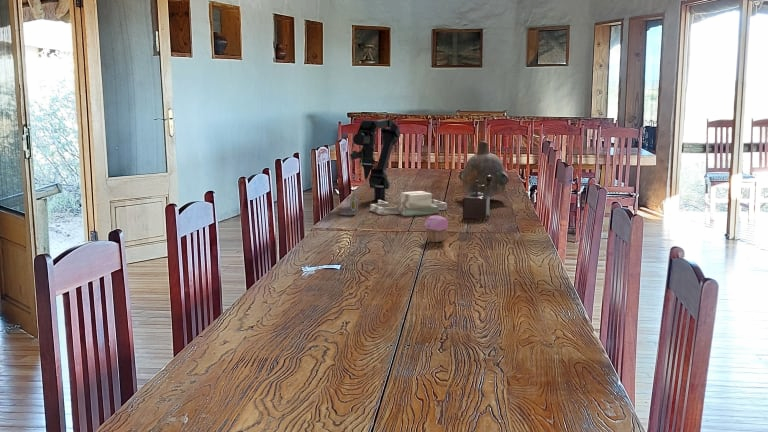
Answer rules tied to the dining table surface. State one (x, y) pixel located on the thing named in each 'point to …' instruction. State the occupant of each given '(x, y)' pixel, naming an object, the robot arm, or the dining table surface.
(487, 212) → the manual coffee grinder
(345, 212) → the pocket watch
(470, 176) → the jug
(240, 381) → the dining table surface
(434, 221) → the cupcake
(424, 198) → the birch block
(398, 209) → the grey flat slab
